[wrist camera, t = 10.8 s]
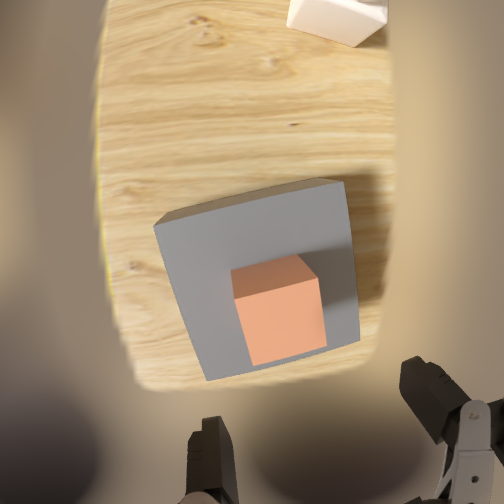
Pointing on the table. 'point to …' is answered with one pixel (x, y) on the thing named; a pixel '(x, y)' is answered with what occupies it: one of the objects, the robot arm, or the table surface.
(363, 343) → the table surface
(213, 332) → the slate pedestal
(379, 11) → the medicine bottle
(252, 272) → the terracotta cube
